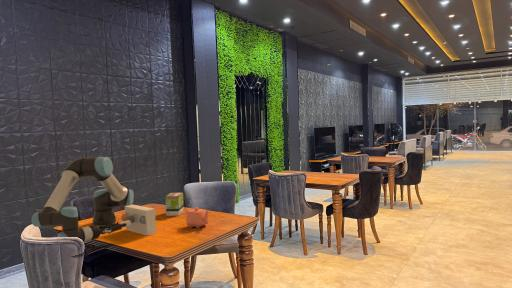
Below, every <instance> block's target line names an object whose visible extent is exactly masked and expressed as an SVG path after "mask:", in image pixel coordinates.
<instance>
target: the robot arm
mask: <svg viewBox="0 0 512 288" xmlns="http://www.w3.org/2000/svg"><path fill="white" fill-rule="evenodd" d="M113 171H114V165H113V161H112V159H111V158H110V157H107V156H91V157H90V156H89V157H85V156H84V157H79V158H77V159H75V160H73V161H71V162H70V163H69V164H68V165H67V166H66V167H65V168H64V169H63V171H62V173H61V178H60V180H59V181H58V183H57V185H56V186H55V188H54V190H53V191H52V193H51V195H50V197H48V200H47V201H46V203H45V204H44V206H43V208H42V210H41V211H37V212H35V213H33V214H32V216H31V224H32V226H33V227H35V228H36V227H37V228H45V227H46V228H48V227H49V228H50V227H52V228H53V227H61V232H58V234H57V237H78V238H80V239H82V240H83V242H82V243H87V242H90V241H94V240H96V239H99V238H100V237H101V235H105V234H107V235H108V234H111V233H114V232H117V231H120V230H122V229H123V228H126V227H127V226H131V221H121V222H119V221H117V216H116V214H115V212H114V210H113V208H123V207H124V208H125V206H129V205H133V203H134V198H135V197H134V196H135V195H134V194H135V193H134V190H133V189H131V188H130V189H128V188H127V187H126V186H124V185H121V183H120V182H119V181H118V179H117V178H116V177H115V175H114V174H113ZM89 177H90V178H92V179H93V180H95V181H96V182H99V183H101V185H102V186H103V187H104V188H102V189H98V190H96V191H94V193H93V207H94V213H93V218H92V221H91V222H92V225H89V226H88V225H87V226H83V227H79V213H78V212H79V211H78V208H77V207H76V206H65V207H63V205H64V203H65V202H66V200H67V198H68V197H69V195H70V193H71V191H72V189H73V187H74V185H75V184H76V183H77V182H79V180H80V179H81V178H89ZM57 237H56V238H57Z"/></svg>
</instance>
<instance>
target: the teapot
mask: <svg viewBox="0 0 512 288" xmlns="http://www.w3.org/2000/svg"><path fill="white" fill-rule="evenodd" d="M209 212H210V210H206V209H202V208H199V207H194V208H193V209H190V210H189V209H186V210H185V214H186V217H185V223H186V226H188V228H193V227H195V229H196V230H197V229H198V230H199V229H200V228H201V227H206V226H207V224H208V223H209Z"/></svg>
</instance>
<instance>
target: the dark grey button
mask: <svg viewBox="0 0 512 288" xmlns="http://www.w3.org/2000/svg"><path fill="white" fill-rule="evenodd" d="M140 223H141V224H144V223H145V216H141V217H140Z"/></svg>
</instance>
